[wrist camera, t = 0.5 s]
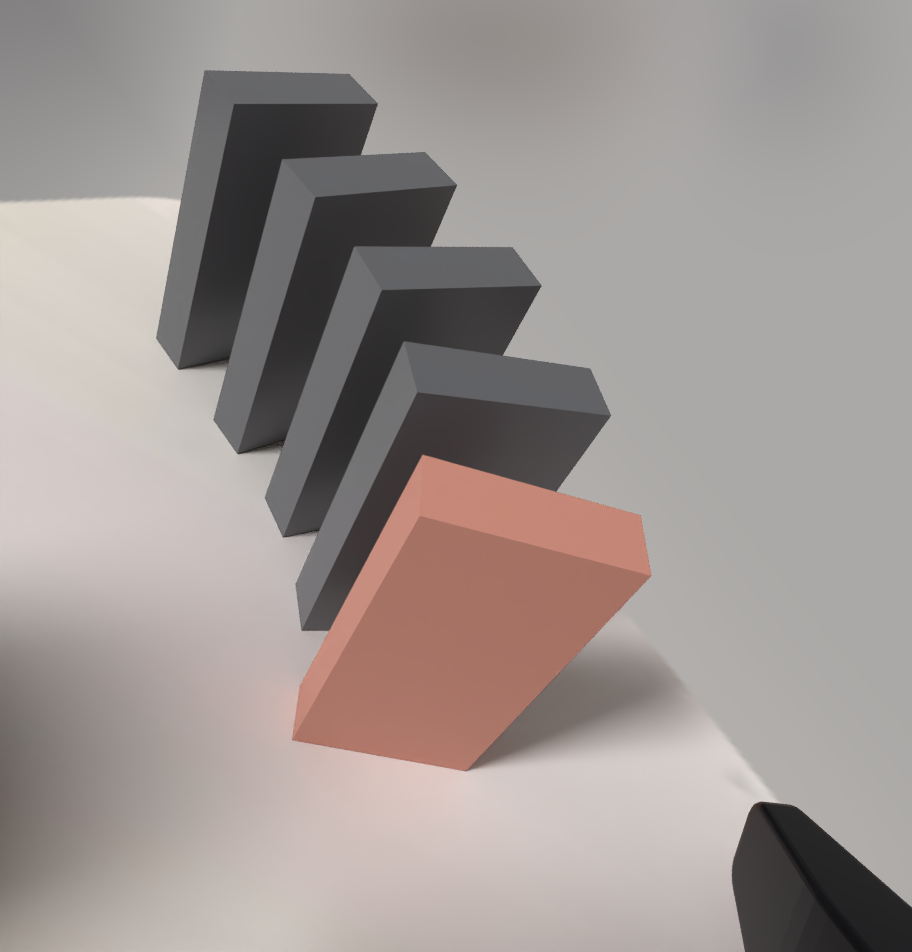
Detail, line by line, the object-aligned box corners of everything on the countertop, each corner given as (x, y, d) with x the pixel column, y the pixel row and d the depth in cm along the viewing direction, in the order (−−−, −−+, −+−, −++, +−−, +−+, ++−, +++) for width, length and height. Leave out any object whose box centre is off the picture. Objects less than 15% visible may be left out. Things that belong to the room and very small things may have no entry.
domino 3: (415, 510, 30) (541, 285, 23) (282, 537, 27) (381, 289, 21) (396, 475, 31) (512, 247, 24) (264, 498, 28) (354, 246, 21)
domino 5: (465, 771, 25) (650, 575, 18) (292, 739, 23) (419, 515, 16) (466, 718, 26) (640, 515, 19) (300, 686, 24) (422, 454, 17)
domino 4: (456, 629, 28) (610, 415, 21) (301, 630, 25) (417, 392, 19) (445, 586, 29) (590, 368, 22) (295, 583, 26) (403, 341, 20)
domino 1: (297, 343, 33) (377, 103, 27) (177, 369, 30) (233, 103, 23) (276, 316, 34) (349, 74, 27) (156, 338, 31) (204, 70, 24)
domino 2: (356, 418, 32) (457, 184, 25) (237, 453, 29) (315, 197, 22) (333, 388, 33) (424, 152, 26) (213, 419, 29) (282, 159, 23)
